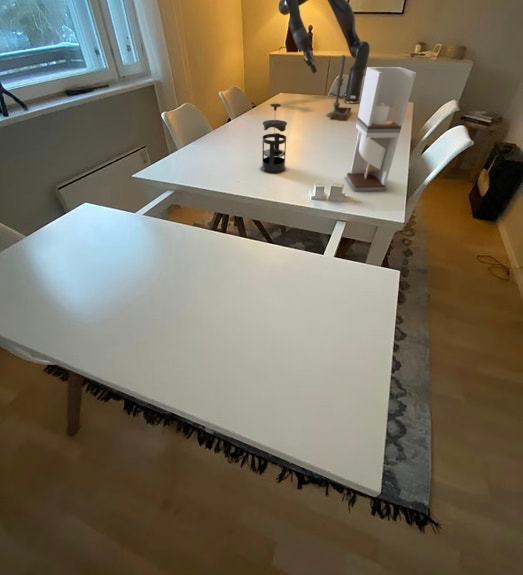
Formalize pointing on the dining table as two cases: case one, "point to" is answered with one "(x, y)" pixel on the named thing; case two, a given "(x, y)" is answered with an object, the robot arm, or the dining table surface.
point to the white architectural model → (379, 125)
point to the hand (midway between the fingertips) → (315, 72)
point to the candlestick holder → (339, 83)
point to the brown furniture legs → (342, 116)
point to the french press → (274, 146)
